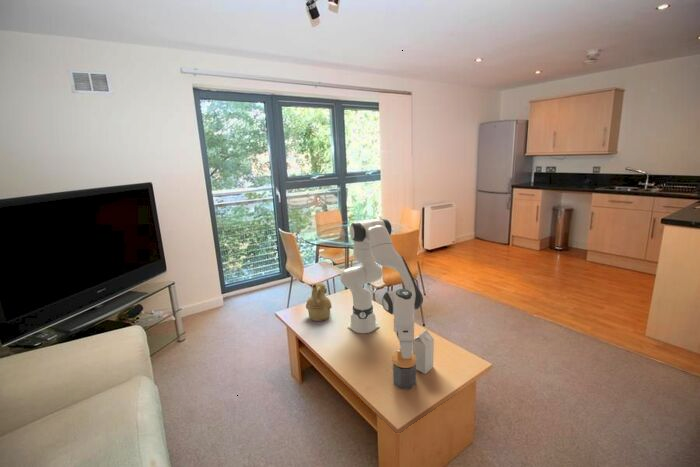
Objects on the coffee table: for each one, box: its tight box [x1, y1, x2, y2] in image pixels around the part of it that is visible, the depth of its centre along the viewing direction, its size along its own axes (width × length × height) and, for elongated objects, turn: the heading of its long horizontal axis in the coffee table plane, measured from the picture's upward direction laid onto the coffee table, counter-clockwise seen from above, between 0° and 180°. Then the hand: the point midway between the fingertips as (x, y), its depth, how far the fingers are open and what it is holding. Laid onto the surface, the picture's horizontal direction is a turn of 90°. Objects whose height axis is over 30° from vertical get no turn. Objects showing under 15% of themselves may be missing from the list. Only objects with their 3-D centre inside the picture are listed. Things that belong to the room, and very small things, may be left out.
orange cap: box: [391, 347, 417, 368], centre depth 140 cm, size 11×11×7 cm
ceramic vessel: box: [305, 282, 332, 322], centre depth 203 cm, size 17×20×25 cm
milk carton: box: [412, 328, 435, 375], centre depth 149 cm, size 7×7×19 cm
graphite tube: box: [392, 363, 417, 390], centre depth 141 cm, size 10×10×10 cm
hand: (404, 355), depth 140 cm, fingers closed on orange cap, 2 cm apart
